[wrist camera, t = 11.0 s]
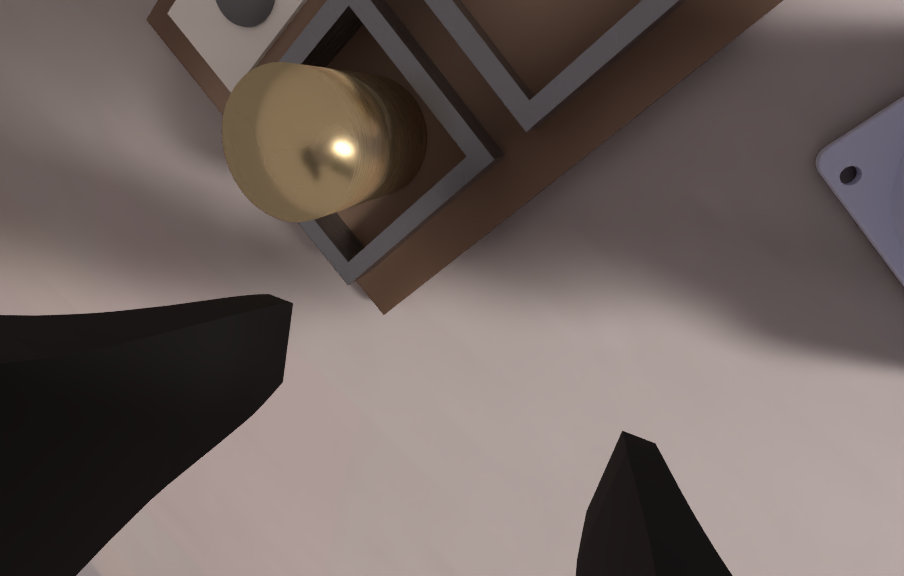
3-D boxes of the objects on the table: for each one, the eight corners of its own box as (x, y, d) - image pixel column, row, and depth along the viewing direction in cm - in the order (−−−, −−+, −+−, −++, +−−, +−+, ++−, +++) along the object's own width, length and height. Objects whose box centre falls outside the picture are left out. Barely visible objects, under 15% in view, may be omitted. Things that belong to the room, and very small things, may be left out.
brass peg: (448, 118, 17) (382, 120, 13) (392, 217, 19) (316, 251, 14) (351, 50, 18) (253, 28, 13) (304, 154, 19) (203, 167, 15)
